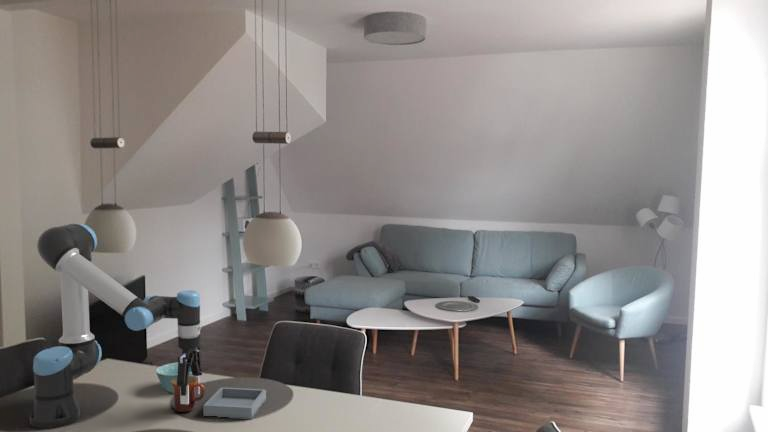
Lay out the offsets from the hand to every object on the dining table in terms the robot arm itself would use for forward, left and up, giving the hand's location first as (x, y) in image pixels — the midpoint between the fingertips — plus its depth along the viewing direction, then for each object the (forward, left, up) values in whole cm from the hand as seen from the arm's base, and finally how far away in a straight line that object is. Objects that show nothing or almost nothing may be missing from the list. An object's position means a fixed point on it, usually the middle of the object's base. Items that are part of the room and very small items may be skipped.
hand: (190, 398), depth 223 cm
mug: (0, 0, -4) cm, 4 cm away
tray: (+15, +4, -4) cm, 16 cm away
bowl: (-13, +19, -5) cm, 23 cm away
